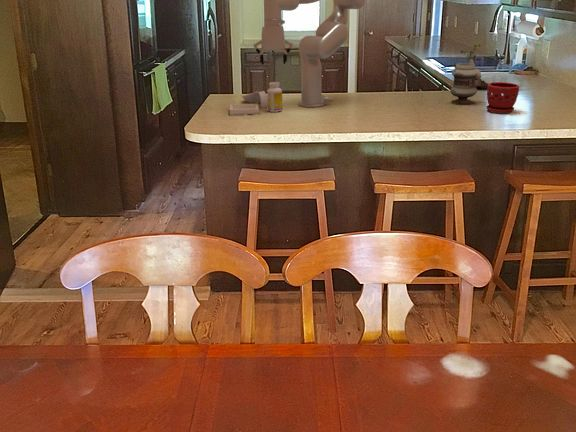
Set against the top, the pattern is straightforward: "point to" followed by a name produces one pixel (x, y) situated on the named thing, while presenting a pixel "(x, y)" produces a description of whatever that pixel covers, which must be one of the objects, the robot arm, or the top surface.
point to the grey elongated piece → (257, 98)
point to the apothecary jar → (464, 83)
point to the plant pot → (501, 97)
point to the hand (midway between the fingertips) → (273, 63)
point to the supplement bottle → (274, 97)
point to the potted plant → (477, 79)
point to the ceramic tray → (244, 109)
